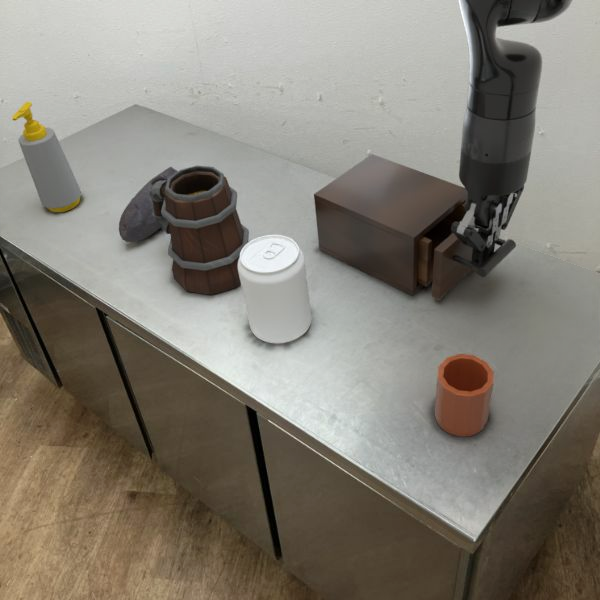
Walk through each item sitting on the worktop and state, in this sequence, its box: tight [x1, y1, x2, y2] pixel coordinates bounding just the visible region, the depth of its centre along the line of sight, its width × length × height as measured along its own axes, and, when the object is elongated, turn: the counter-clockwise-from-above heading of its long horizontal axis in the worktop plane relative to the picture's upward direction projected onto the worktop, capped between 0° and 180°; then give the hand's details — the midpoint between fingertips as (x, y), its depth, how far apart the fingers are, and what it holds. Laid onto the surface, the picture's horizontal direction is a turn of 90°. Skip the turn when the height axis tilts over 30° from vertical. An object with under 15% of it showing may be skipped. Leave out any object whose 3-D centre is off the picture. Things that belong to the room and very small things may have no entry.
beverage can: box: [238, 234, 312, 344], centre depth 81 cm, size 8×8×12 cm
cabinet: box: [313, 153, 468, 297], centre depth 91 cm, size 17×13×10 cm
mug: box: [149, 165, 250, 296], centre depth 91 cm, size 16×12×15 cm
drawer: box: [417, 202, 517, 301], centre depth 87 cm, size 20×12×8 cm, turn 47°
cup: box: [434, 353, 495, 437], centre depth 69 cm, size 6×6×7 cm
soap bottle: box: [11, 101, 82, 213], centre depth 106 cm, size 7×7×18 cm
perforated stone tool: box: [118, 166, 179, 243], centre depth 102 cm, size 15×5×7 cm, turn 147°
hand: (481, 263), depth 83 cm, fingers closed
